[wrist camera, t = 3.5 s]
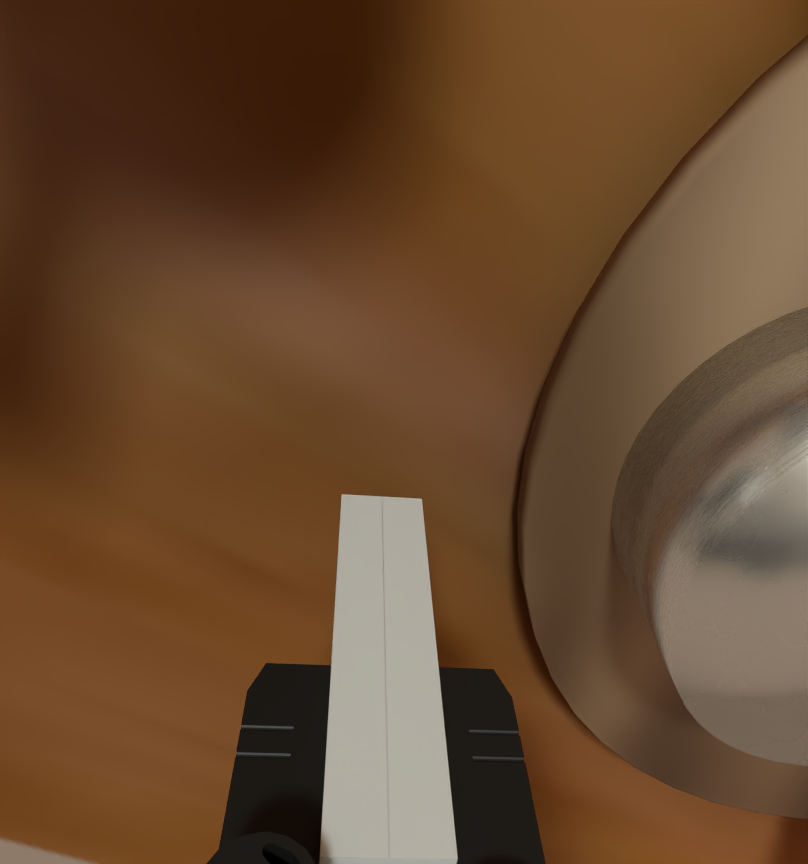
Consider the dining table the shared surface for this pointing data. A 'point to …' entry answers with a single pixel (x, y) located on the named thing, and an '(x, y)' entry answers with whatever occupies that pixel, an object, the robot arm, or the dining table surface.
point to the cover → (728, 538)
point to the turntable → (632, 407)
